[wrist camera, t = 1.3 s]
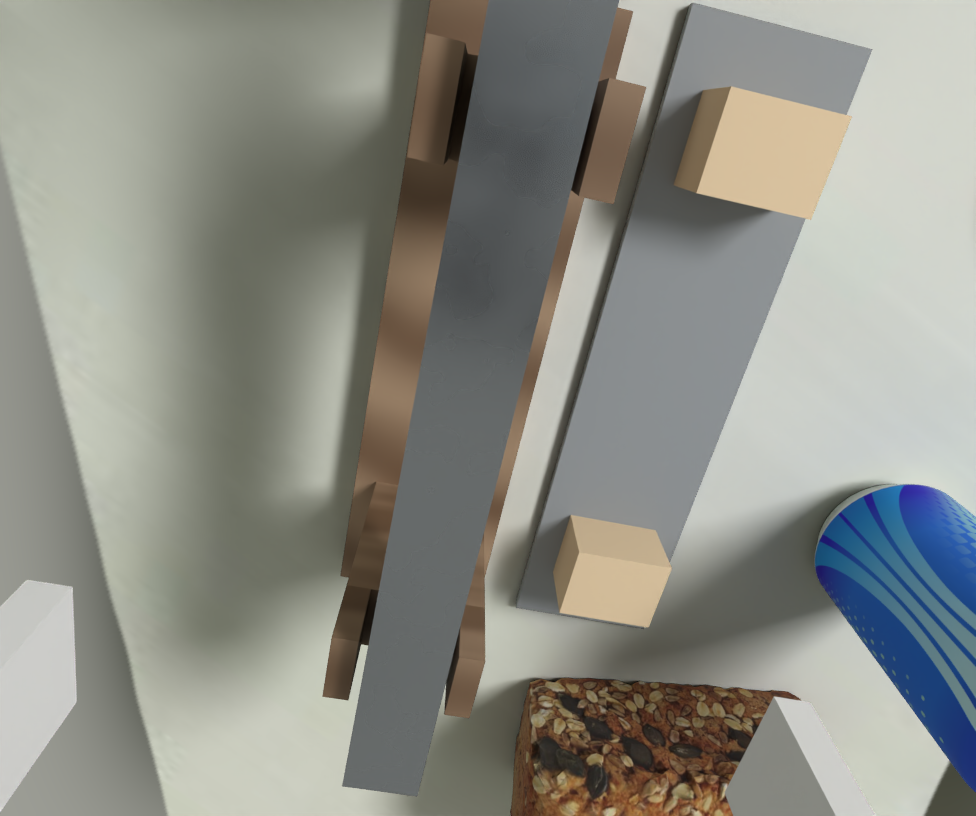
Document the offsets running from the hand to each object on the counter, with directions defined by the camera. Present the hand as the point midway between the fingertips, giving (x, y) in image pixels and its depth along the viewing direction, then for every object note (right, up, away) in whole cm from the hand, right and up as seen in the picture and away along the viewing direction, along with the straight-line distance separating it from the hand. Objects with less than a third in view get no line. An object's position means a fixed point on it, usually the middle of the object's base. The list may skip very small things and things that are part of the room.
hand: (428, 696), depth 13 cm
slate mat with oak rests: (+10, +7, +22) cm, 25 cm away
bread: (+12, -16, +33) cm, 38 cm away
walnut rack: (0, +9, +21) cm, 23 cm away
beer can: (+24, -2, +26) cm, 35 cm away
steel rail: (0, +5, +12) cm, 13 cm away
